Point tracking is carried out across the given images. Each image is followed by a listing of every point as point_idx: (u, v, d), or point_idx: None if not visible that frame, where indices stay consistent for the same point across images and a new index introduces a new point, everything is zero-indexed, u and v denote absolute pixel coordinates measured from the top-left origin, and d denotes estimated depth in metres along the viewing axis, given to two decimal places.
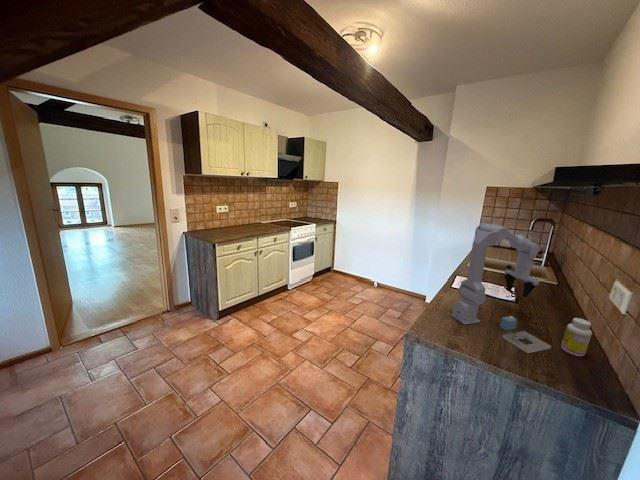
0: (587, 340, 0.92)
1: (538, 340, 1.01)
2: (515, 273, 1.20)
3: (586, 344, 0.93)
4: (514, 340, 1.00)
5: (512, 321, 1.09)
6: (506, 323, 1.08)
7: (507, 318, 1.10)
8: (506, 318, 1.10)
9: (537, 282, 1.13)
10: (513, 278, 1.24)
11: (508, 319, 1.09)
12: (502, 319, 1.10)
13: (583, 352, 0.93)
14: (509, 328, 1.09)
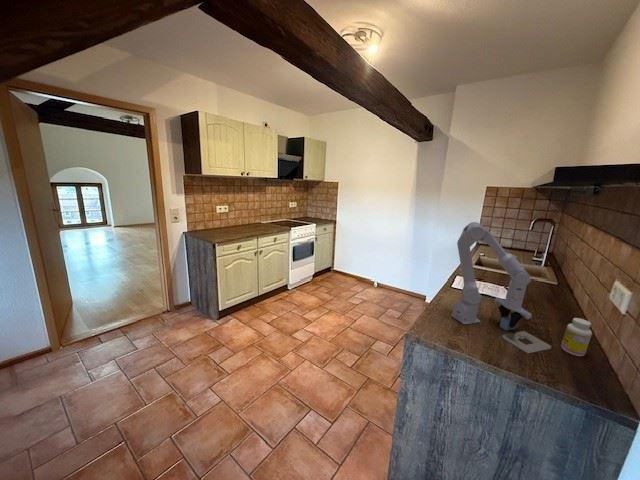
0: (587, 340, 0.92)
1: (538, 340, 1.01)
2: (506, 303, 1.08)
3: (586, 344, 0.93)
4: (514, 340, 1.00)
5: None
6: (506, 323, 1.08)
7: (507, 318, 1.10)
8: (506, 318, 1.10)
9: (530, 315, 1.02)
10: (508, 310, 1.11)
11: (508, 319, 1.09)
12: (502, 319, 1.10)
13: (583, 352, 0.93)
14: (509, 328, 1.09)
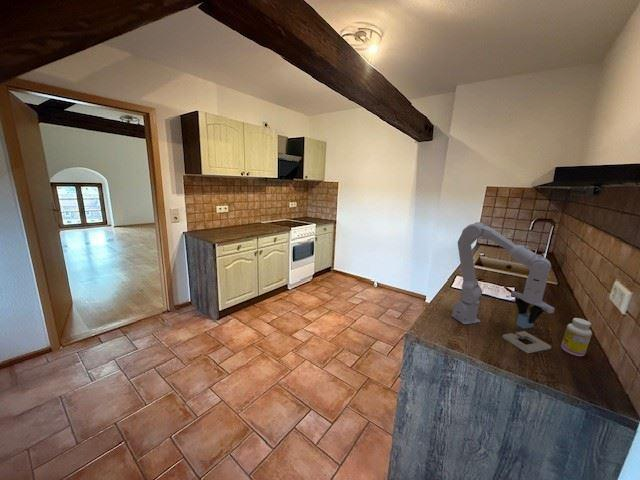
0: (587, 340, 0.92)
1: (538, 340, 1.01)
2: (524, 297, 0.99)
3: (586, 344, 0.93)
4: (514, 340, 1.00)
5: None
6: (524, 320, 0.99)
7: (525, 315, 1.01)
8: (524, 315, 1.00)
9: (552, 309, 0.92)
10: (527, 304, 1.01)
11: (526, 316, 1.00)
12: (519, 316, 1.01)
13: (583, 352, 0.93)
14: (527, 326, 1.00)
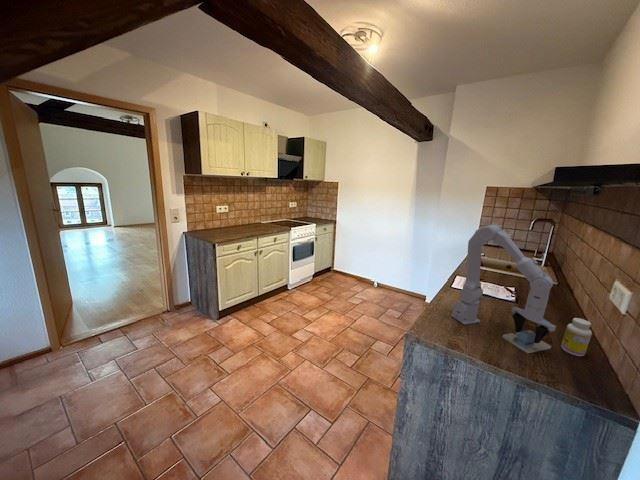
0: (587, 340, 0.92)
1: None
2: (525, 313, 0.98)
3: (586, 344, 0.93)
4: (514, 340, 1.00)
5: (531, 336, 0.98)
6: (524, 338, 0.98)
7: (525, 332, 1.00)
8: (524, 333, 0.99)
9: (553, 327, 0.91)
10: (523, 318, 1.02)
11: (526, 334, 0.99)
12: (520, 334, 1.00)
13: (583, 352, 0.93)
14: None
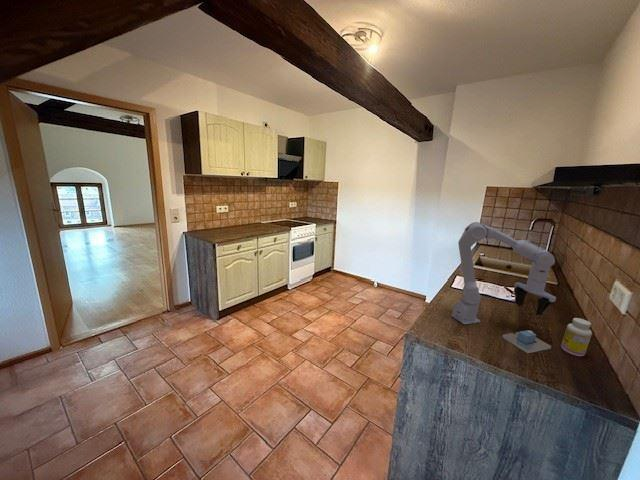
0: (587, 340, 0.92)
1: (538, 340, 1.01)
2: (527, 287, 1.03)
3: (586, 344, 0.93)
4: (514, 340, 1.00)
5: (531, 336, 0.98)
6: (524, 338, 0.98)
7: (525, 332, 1.00)
8: (524, 333, 0.99)
9: (554, 298, 0.97)
10: (525, 292, 1.08)
11: (526, 334, 0.99)
12: (520, 333, 1.00)
13: (583, 352, 0.93)
14: None
